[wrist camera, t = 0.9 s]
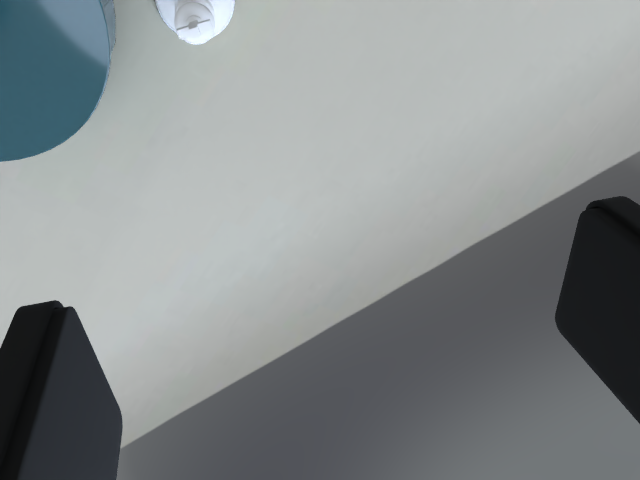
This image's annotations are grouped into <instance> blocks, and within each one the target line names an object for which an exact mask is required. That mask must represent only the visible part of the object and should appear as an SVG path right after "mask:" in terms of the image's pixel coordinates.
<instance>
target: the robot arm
mask: <svg viewBox="0 0 640 480" xmlns="http://www.w3.org/2000/svg"><path fill="white" fill-rule="evenodd" d="M555 321H556V325H557V327H558V330H559V331H560V333H561V334H562V335H563V336H564V337H565V339H567V341H568V342H569V343H570V344H571V345H572V347H573V348H574V349H575V350H576V351H577V352H578V353H579V355H580V356H581V357H582V358H583V359H584V360H585V361H586V363H587V364H588V365H589V366H590V367H591V368H592V370H593V371H594V372H595V373H596V374H597V375H598V376H599V378H600V379H601V380H602V381H603V382H604V383H605V384H606V386H607V387H608V388H609V389H610V390H611V391H612V392H613V394H614V395H615V396H616V397H617V398H618V399H619V401H620V402H621V403H622V404H623V405H624V406H625V407H626V409H627V410H629V412H630V413H631V414H632V415H633V417H634V418H635V419H636V420H637V421H638V422H639V423H640V205H638V204H637V203H635V202H634V201H632V200H631V199H629V198H627V197H623V196H619V197H613V198H608V199H602V200H597V201H593V202H591V203H590V204H589V205H588V206H587V208H586V210H585V211H583V212H582V213H581V214H580V217H579V220H578V224H577V228H576V232H575V236H574V240H573V244H572V248H571V252H570V257H569V261H568V265H567V269H566V273H565V277H564V281H563V285H562V290H561V293H560V297H559V302H558V305H557V310H556V314H555ZM121 436H122V416H121V411H120V408H119V406H118V404H117V401H116V399H115V397H114V395H113V393H112V390H111V388H110V386H109V384H108V381H107V379H106V377H105V375H104V372H103V370H102V368H101V366H100V364H99V361H98V359H97V357H96V355H95V352H94V350H93V348H92V346H91V344H90V341H89V339H88V337H87V335H86V332H85V330H84V328H83V326H82V323H81V321H80V319H79V317H78V315H77V312H76V311H75V309H74V308H73V307H63V305H62V304H61V303H60V302H59V301H56V300H55V301H49V302H44V303H38V304H33V305H28V306H22V307H20V308H18V309H17V311H16V313H15V315H14V317H13V320H12V322H11V324H10V327H9V329H8V332H7V334H6V336H5V339H4V341H3V343H2V346H1V348H0V480H116V477H117V468H118V460H119V452H120V444H121Z"/></svg>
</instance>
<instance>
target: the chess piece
mask: <svg viewBox="0 0 640 480" xmlns="http://www.w3.org/2000/svg"><path fill="white" fill-rule="evenodd" d="M155 2H156V6H157V9H158V11H159V14H160V15H161V17H162V19H163V20H164V22H165V23H166V24H167V25H168V27H169V28H171V29H172V30H173V31H174V32H176V33H177V34H178V36H179V39H183V40H184V41H186V42H188V43H190V44H203V43H205V42H207V41H208V40H209V39H210V38H212V37H214V36H216V35H217V34H219V33H220V32H221V31H223V30H224V28H225V27H226V26H227V25H228V23H229V21H230V20H231V17H232V15H233V11H234V6H235V0H155Z"/></svg>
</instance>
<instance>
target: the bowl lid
mask: <svg viewBox="0 0 640 480" xmlns="http://www.w3.org/2000/svg"><path fill="white" fill-rule="evenodd" d="M110 62H111V38H110V31H109V24H108V19H107V16H106V12H105V8H104V4H103V1H102V0H0V162H2V161H11V160H19V159H23V158H27V157H31V156H35V155H38V154H40V153H43V152H46V151H48V150H51V149H52V148H54V147H56V146H58V145H60V144H61V143H63V142H65V141H66V140H67V139H69V138H70V137H71V136H73V135H74V134H75V133H76V132H77V131H78V130H79V129H80V128H81V127H82V126H83V125H84V124H85V123H86V122H87V121H88V119H89V118H90V116H91V115H92V113H93V112H94V111H95V109H96V107H97V105H98V103H99V101H100V99H101V97H102V95H103V93H104V90H105V86H106V83H107V80H108V76H109V69H110Z"/></svg>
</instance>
